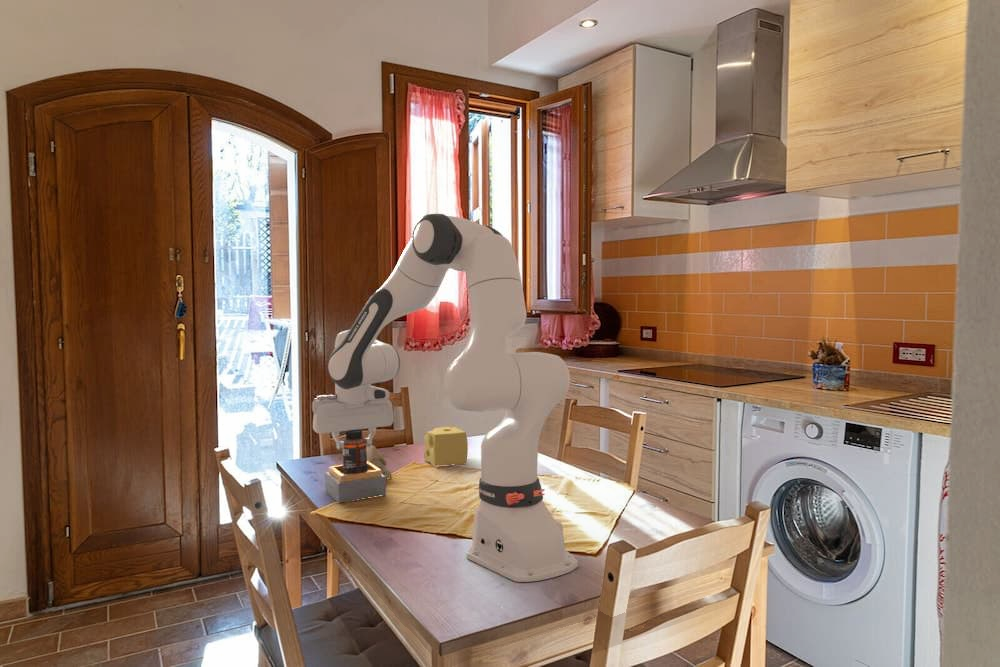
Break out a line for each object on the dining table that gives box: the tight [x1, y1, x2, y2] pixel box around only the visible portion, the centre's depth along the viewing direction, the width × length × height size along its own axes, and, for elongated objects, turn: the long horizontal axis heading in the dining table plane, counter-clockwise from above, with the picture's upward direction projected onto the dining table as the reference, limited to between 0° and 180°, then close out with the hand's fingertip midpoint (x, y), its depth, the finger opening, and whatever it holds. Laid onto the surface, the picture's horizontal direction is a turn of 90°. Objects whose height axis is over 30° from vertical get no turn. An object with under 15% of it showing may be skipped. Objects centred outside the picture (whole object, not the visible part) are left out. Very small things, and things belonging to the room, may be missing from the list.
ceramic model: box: [366, 444, 392, 479], centre depth 182 cm, size 14×11×10 cm
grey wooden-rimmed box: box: [324, 461, 387, 504], centre depth 167 cm, size 12×12×6 cm
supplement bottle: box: [342, 429, 367, 475], centre depth 166 cm, size 6×6×11 cm
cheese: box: [423, 426, 469, 466], centre depth 197 cm, size 10×11×10 cm
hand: (354, 446), depth 166 cm, fingers closed on supplement bottle, 6 cm apart
